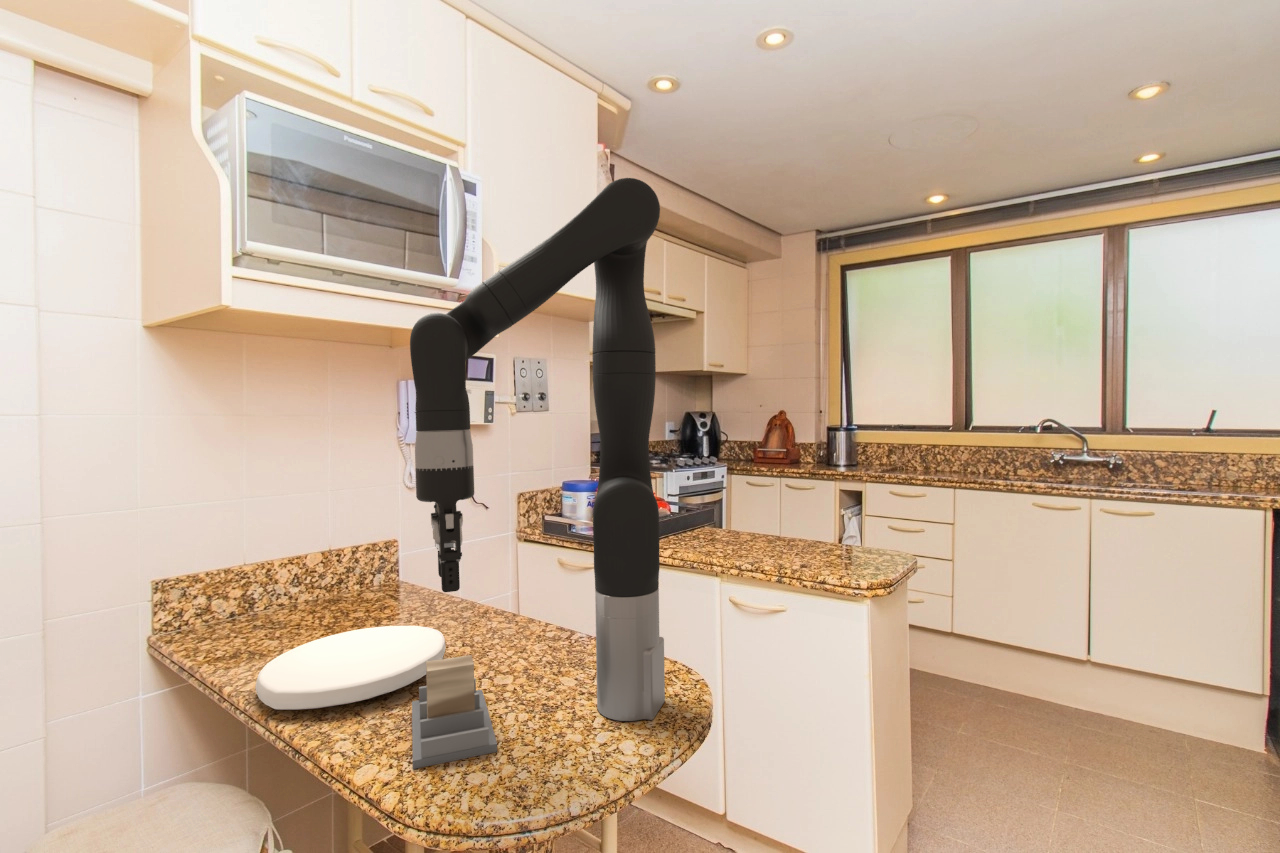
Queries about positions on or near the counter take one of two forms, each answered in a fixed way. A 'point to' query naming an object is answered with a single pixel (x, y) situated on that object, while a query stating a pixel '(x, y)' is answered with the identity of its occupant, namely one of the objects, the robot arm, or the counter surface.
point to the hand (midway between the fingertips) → (448, 583)
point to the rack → (450, 733)
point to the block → (450, 686)
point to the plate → (348, 667)
